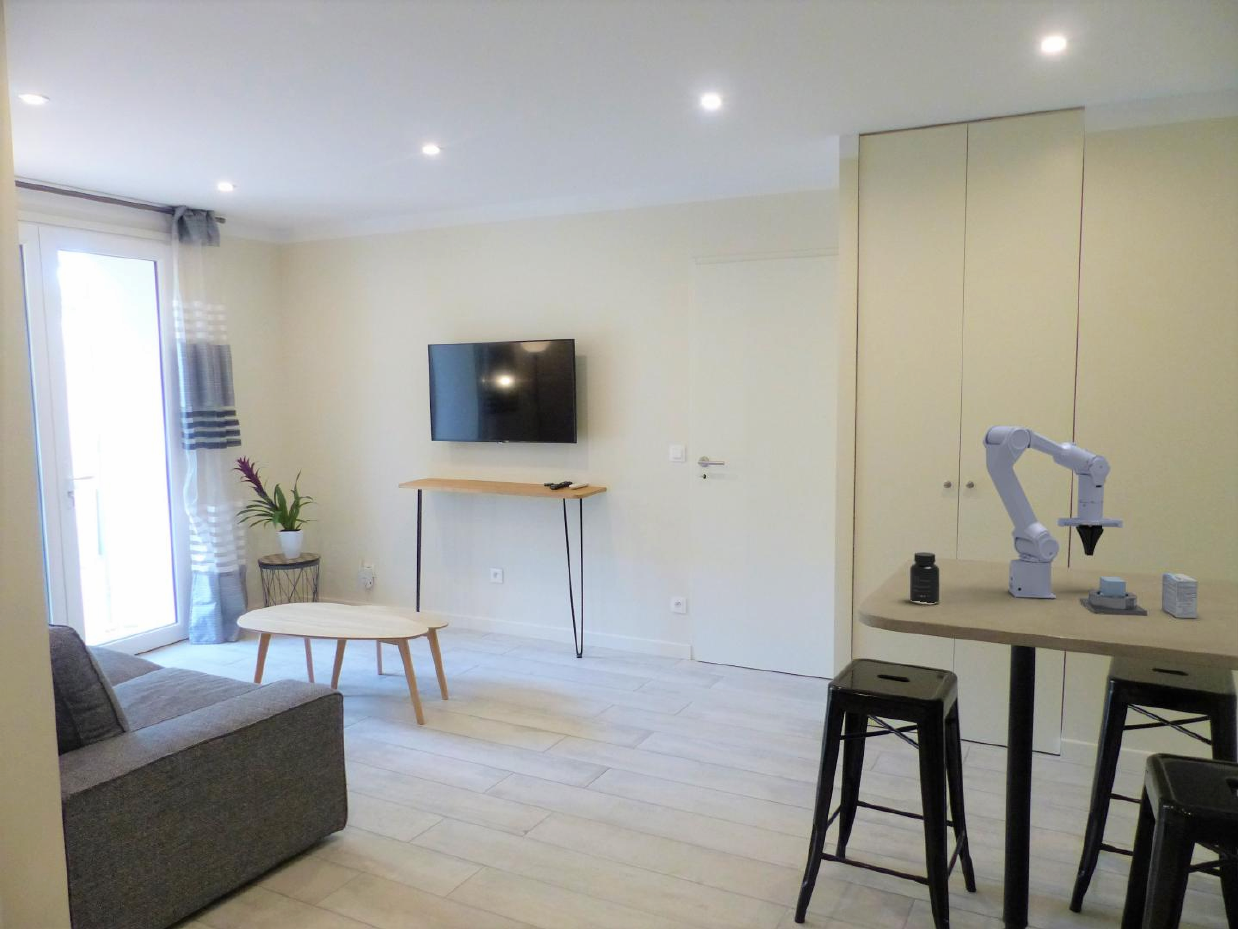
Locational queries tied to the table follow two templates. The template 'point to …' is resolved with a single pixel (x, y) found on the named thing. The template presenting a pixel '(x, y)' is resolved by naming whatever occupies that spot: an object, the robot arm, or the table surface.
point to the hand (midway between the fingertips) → (1088, 554)
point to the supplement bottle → (924, 578)
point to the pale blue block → (1112, 587)
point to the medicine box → (1179, 595)
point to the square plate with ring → (1112, 604)
